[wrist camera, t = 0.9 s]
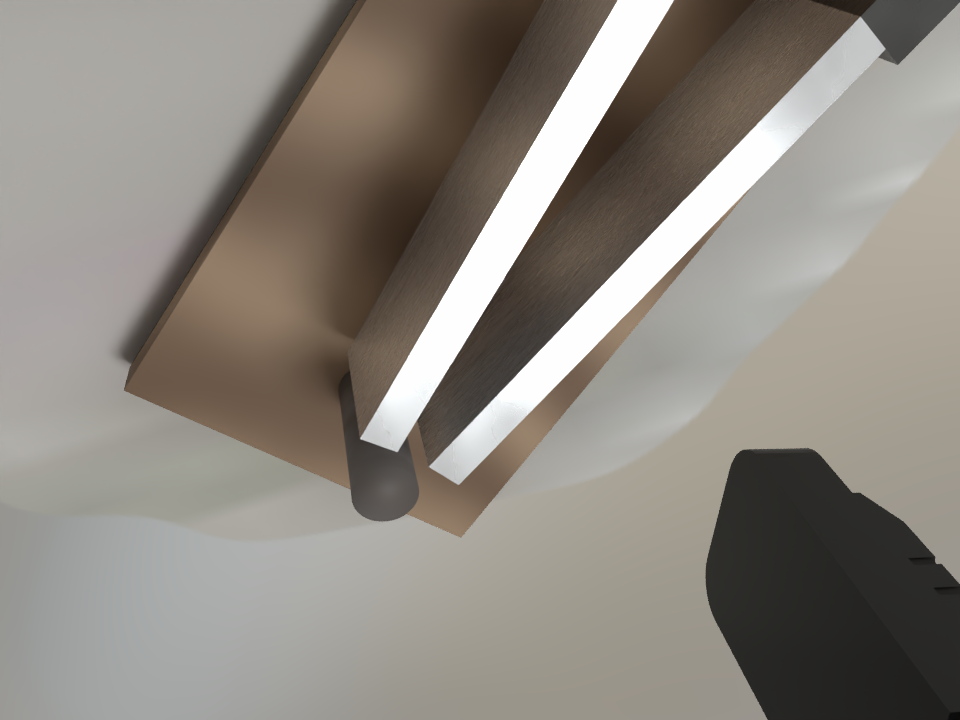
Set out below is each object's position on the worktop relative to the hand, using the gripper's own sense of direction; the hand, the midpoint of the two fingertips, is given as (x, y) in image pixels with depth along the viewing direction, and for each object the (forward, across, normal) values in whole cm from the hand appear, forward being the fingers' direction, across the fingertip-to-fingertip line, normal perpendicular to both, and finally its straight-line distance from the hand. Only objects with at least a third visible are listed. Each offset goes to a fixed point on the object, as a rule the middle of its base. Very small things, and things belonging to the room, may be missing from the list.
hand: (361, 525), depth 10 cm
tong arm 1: (+20, -9, +2) cm, 22 cm away
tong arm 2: (+19, -5, -1) cm, 20 cm away
